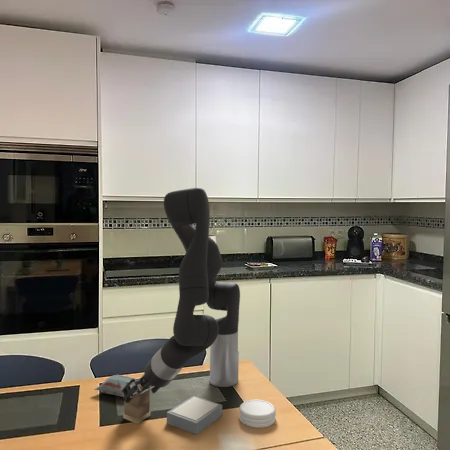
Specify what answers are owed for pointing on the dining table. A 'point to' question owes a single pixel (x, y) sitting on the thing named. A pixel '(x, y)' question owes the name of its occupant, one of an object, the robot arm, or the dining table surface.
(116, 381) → the packaged food
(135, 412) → the dome-topped square block
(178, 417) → the dock
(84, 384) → the dining table surface
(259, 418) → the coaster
